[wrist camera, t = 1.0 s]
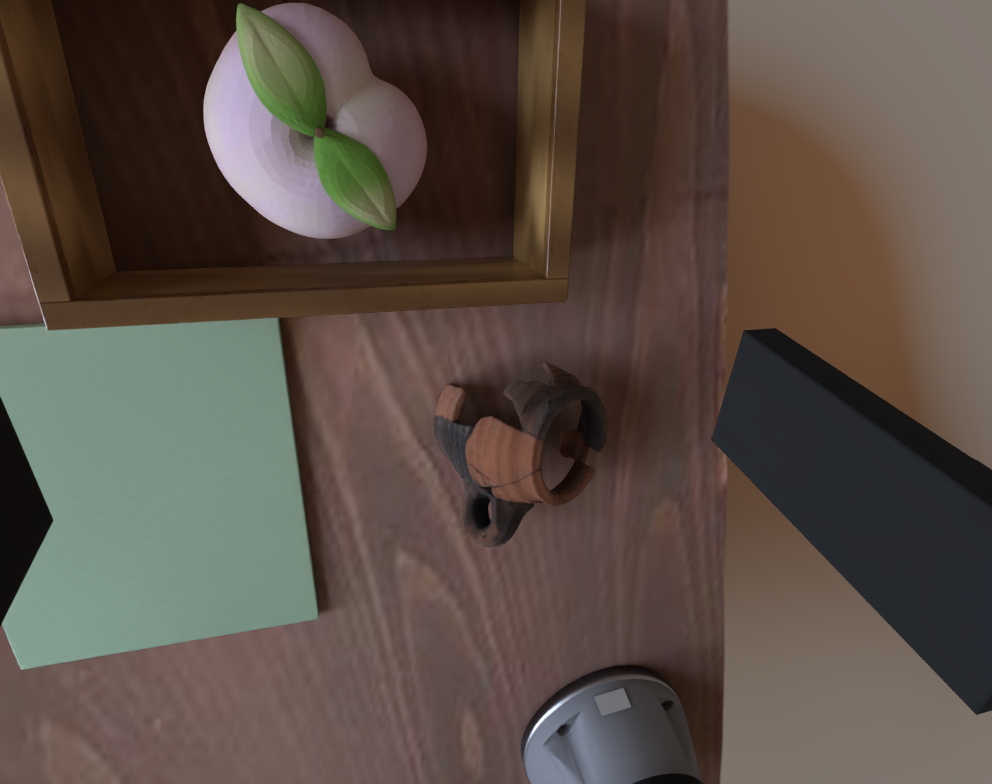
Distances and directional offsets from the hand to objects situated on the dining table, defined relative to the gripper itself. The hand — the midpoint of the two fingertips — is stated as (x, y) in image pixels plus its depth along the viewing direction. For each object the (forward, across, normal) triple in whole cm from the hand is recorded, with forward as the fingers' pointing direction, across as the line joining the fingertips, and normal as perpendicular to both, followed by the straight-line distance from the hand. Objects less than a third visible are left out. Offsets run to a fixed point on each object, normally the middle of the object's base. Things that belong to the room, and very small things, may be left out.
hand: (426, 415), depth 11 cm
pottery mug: (+22, -9, +17) cm, 29 cm away
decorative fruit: (+25, +2, -1) cm, 25 cm away
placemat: (+22, +13, +19) cm, 32 cm away
